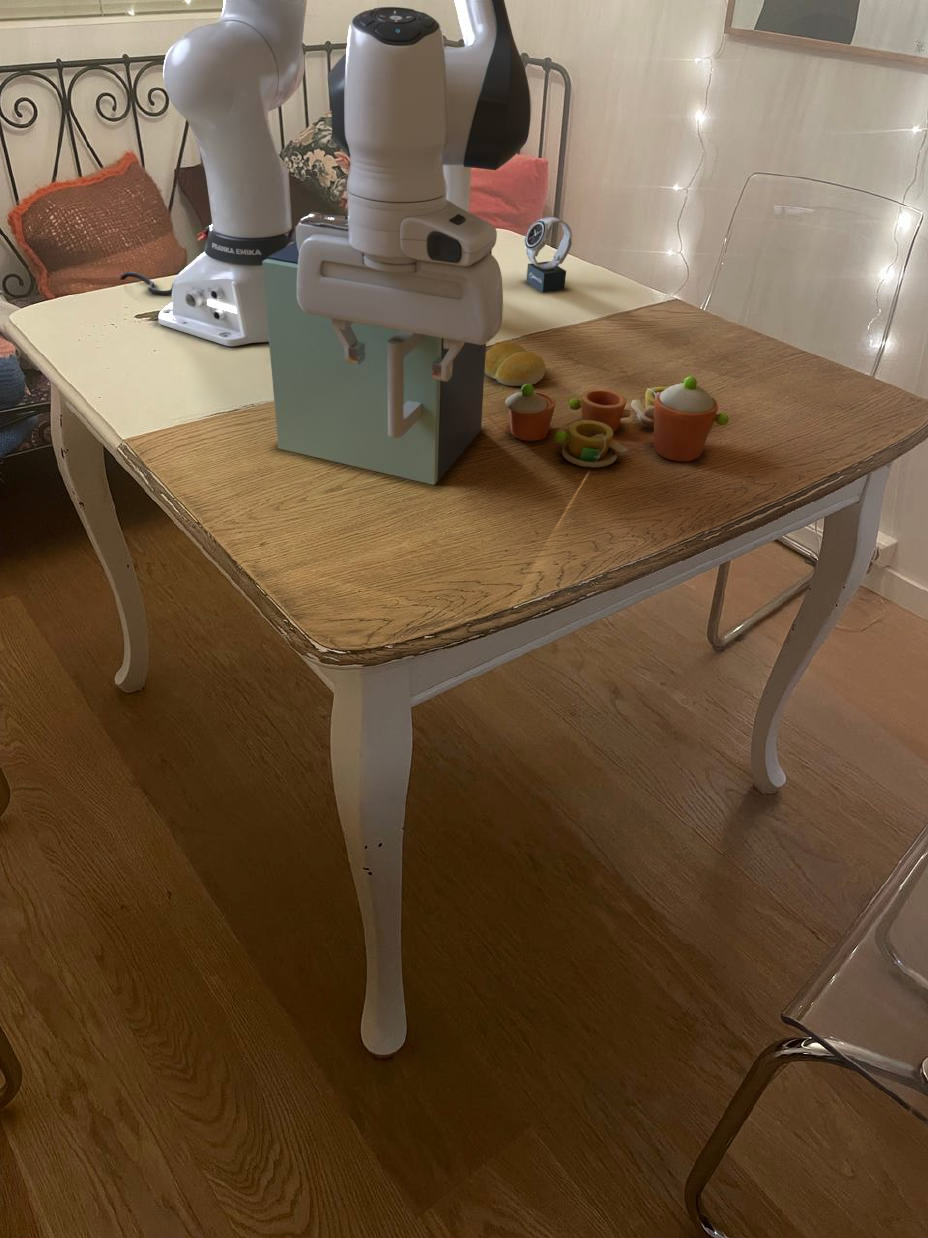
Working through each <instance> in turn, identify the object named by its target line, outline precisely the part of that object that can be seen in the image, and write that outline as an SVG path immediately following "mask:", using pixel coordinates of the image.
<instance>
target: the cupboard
mask: <svg viewBox="0 0 928 1238" xmlns="http://www.w3.org/2000/svg"><path fill="white" fill-rule="evenodd" d="M492 252H493V249H492V250H491V251H490V252H489V253H490V254H491V255H493V253H492ZM298 257H299V252H298V249H297V242H295V243H293V244H291V245H289V246H287V247H285V248H283V249H281V250H280V251H278V252H276V253H274V254H272V255H270V256H268V259H271V260H276V261H282V262H288V263H294V264H298ZM448 351H449V349H444V348H443V338H442V348H441V357H445V355H446V354H447V352H448ZM486 352H487V343H486V344H484V345H478V344H472V343H467V342H465V343H464V345H463V346H462V348H461V349H460V351H459V353H458V354H457V356H456V357H455V359H454V360H453V369H452V376H451V378H450V379H449V380H448V381H447V382H446V381H441V382H440V415H439V449H438V481H440V480H441V479H442V477H443V476H444V475H445V474H446V473H447V471H448V470H449V469H450V468H451V467H452V465H454V463H455V462H456V461H457V460H458V458H459V457H460V456H461V455H462V454H463V452H464V451H465V450H467V447H468V446H469V445H470V444H471V443H472V442H473V441H474V439H475V438H476V437H477V436H478V435H479V433H481V431H482V420H483V405H484V390H485V389H484V386H485V356H486ZM438 481H437V482H438Z"/></svg>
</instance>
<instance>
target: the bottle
mask: <svg viewBox="0 0 928 1238" xmlns="http://www.w3.org/2000/svg"><path fill="white" fill-rule="evenodd" d="M443 172H444V177H445V180H446V185H447V199H446V200H448V201H449V202H451V203H453V204H454V205H456V206H458V207H460V208H461V209H463V210H465V211H467V212H469V213H470V207H471V185H472V184H471V182H472V168H470V167H464V166H463V165H443Z"/></svg>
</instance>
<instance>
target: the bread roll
mask: <svg viewBox="0 0 928 1238" xmlns="http://www.w3.org/2000/svg"><path fill="white" fill-rule="evenodd" d="M545 363H546V362H545V361H544V359H543V357H542V356H541V355H540V354H538V353H536V352H532V351H528V349H526V348H525V347H524V346H522V345H520V344H518V343H516V342H511V341H504V342H499V343H497V344H495V345H493V346H492V347H491V348H489V349H488V350H486V356H485V372H484V375H486V376H488V377H489V378H491V379H493V380H496V381H497V382H498V383H499V384H502V385H505V386H508V387H522V386H523V385H524V384H531V385H532V386H533V385H535V384H537V383H539V382H540V381H541V380H543V378H544V376H545V374H546V364H545Z"/></svg>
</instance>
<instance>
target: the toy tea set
mask: <svg viewBox="0 0 928 1238" xmlns="http://www.w3.org/2000/svg"><path fill="white" fill-rule="evenodd" d="M644 395H645V398H644V401H645V403H644V404H643V402H642V401H641V400H639V399H632V400H631V403H630V406H631V408H632V409H633V410H634V411H635V412H636V416H637V418H638V420H639V421H640V422H641V423H643V424H644V425H646V426H648V427H651V428H653V449H654V451H655V453H656V454H657V455H659V456H660V457H662V458H664V459H666V460H669V461H673V462H691V461H694V460H696V459H697V458H699V457H700V456H701V454H702V452H703V450H704V447H705V444H706V442H707V439H708V437H709V434H710V432H711V429H712V426H713V424H714V422H716V424H717V425H718V426H722V427H723V426H725V425H728V423H729V421H730V416H729V415H728V414H727V413H726V412H720V413H718V410H719V405H718V402H717V400H716V399H715V398H714V397H712V396H711V394H710V393H709V392H708V391H707V390H706V389H705V388H703V387H701V386H700V385H698V382H697V379H696V378H695V377H694V376H687V377H686V378H685V379H684V380H683V382H680V383H676V384H674V385H671V386H654V387H651V388H646V391H645V394H644ZM504 403H505V406H506V407H507V409H508V412H509V425H510V433H511V434H512V436H513V437H514V438H516V439H518V440H521V441H525V442H537V441H540V440H543V439H545V438H546V437H547V436H548V433H549V430H550V426H551V422H552V419H553V416H554V412H555V407H556V404H557V402H556V399H555V398H554V397H553V396H552V395H550V394H547V393H545V392H541V391H538V390H537V391H536V390H535V387H534V386H533V384H532V385H531V384H524V385H523V386H521V388H520V391H517V392H514V393H512V394H510V396H508V397H507V398H506V400H505V402H504ZM626 404H627V398H626V397H625V395H624V394H622V393H620V392H618V391H615V390H611V389H606V388H594V389H593V388H591V389H588V390H585V391H583V392H582V394H581V396H580V399H579V398H578V397H573V398H571V399H570V400H569V402H568V407H569V409H571V410H572V411H577V410H580V409H581V419H580V420H577V421H574V422H572V423H570V424H569V426H568V427H567V432H566V430H561V429H560V430H557V431H556V432H555V433H554V441H555V442H556V443H557V444H562V447H561V455H562V457H563V458H565V460H566V461H568V463H569V462H570V463H571V464H574V465H576V466H580V467H585V468H602V467H606V466H610V465H611V464H613V463H614V462H615V461H616V460H617V458H618V457H622V456H626V455H627V450H628V449H627V447H626V446H624V445H623V444H620V443H619V442H617V441H615V440H613V437H614V432H617V430H618V429H619V427H620V423H621V419H625V418H630V417H631V414H632V413H631V410H630V409H625V408H626Z"/></svg>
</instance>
